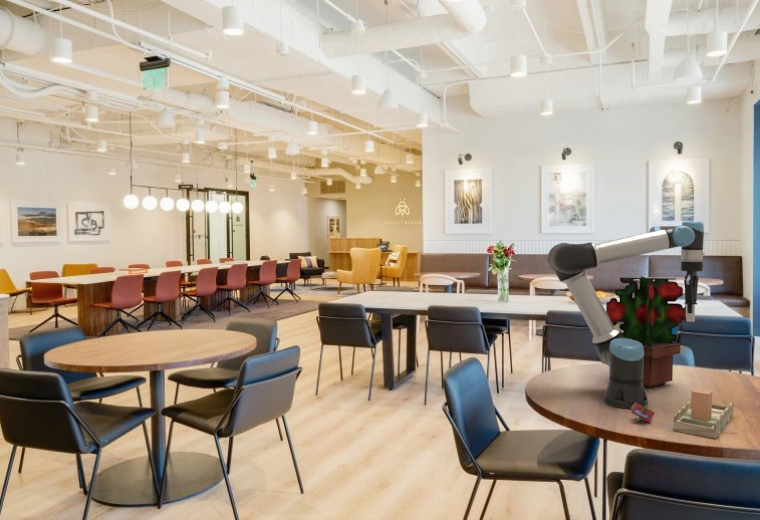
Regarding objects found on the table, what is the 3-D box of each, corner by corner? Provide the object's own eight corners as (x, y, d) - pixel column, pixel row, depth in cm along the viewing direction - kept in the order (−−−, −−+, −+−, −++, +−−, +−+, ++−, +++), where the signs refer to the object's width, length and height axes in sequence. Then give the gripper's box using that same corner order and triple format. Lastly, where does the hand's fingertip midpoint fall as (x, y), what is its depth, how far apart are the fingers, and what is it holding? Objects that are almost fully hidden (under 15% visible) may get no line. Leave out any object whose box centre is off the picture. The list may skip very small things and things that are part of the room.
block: (708, 421, 187) (708, 394, 187) (690, 418, 190) (691, 391, 190) (711, 418, 191) (712, 391, 191) (694, 415, 194) (695, 388, 194)
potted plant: (684, 386, 243) (686, 278, 241) (652, 393, 231) (655, 280, 229) (635, 375, 261) (638, 275, 259) (604, 381, 249) (606, 277, 247)
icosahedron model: (662, 416, 195) (647, 395, 198) (656, 421, 190) (641, 399, 193) (644, 425, 199) (630, 404, 202) (637, 430, 194) (623, 408, 197)
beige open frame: (715, 439, 180) (716, 423, 180) (673, 430, 188) (673, 415, 187) (733, 415, 203) (733, 401, 203) (694, 409, 210) (695, 395, 210)
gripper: (698, 261, 219) (697, 324, 220) (706, 260, 228) (704, 320, 230) (677, 261, 223) (675, 322, 224) (685, 260, 233) (683, 318, 234)
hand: (690, 321), depth 227 cm, fingers closed
